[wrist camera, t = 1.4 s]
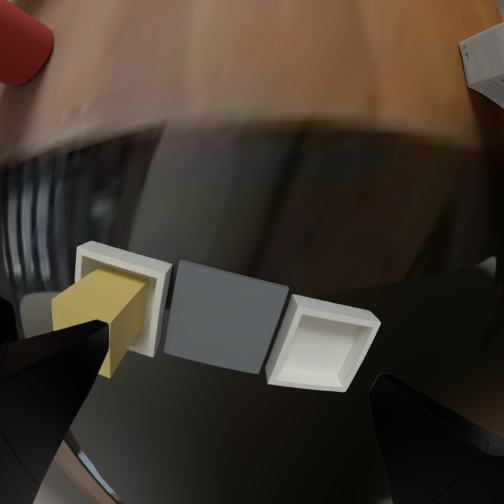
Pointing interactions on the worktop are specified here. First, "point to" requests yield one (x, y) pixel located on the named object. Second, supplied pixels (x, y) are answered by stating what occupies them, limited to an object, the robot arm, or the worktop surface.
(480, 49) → the skincare box
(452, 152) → the worktop surface
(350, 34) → the worktop surface
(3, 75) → the beer can
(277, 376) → the white square tray
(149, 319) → the shallow white dish
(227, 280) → the slate coaster
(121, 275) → the tan carton
